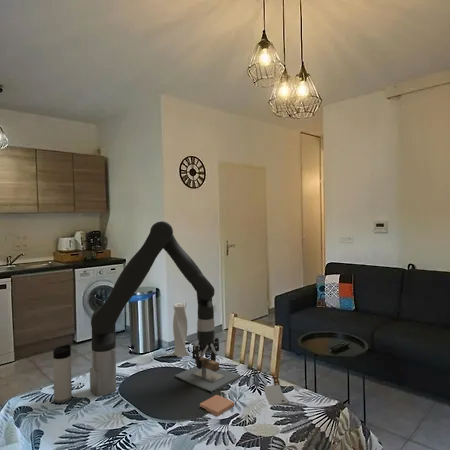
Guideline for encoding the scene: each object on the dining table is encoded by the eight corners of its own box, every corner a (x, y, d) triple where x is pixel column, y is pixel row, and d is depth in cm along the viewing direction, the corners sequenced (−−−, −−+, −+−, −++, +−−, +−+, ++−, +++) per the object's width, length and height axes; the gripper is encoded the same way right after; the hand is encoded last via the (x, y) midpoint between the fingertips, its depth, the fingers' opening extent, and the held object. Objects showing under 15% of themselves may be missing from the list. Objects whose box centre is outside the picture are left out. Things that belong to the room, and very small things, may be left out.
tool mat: (211, 393, 144) (211, 390, 144) (174, 377, 158) (174, 375, 158) (240, 378, 157) (240, 375, 157) (203, 364, 172) (203, 362, 172)
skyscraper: (192, 355, 184) (191, 300, 183) (177, 359, 179) (177, 303, 179) (184, 350, 191) (183, 297, 190) (170, 354, 186) (169, 299, 186)
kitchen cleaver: (259, 375, 159) (282, 374, 158) (259, 377, 159) (282, 376, 158) (262, 404, 134) (289, 403, 134) (262, 407, 134) (290, 406, 134)
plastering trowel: (191, 374, 159) (191, 359, 159) (203, 369, 164) (202, 354, 164) (213, 383, 150) (213, 366, 150) (224, 377, 156) (224, 361, 156)
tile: (199, 408, 133) (217, 417, 127) (199, 403, 133) (217, 412, 127) (216, 399, 140) (234, 407, 134) (216, 394, 140) (234, 402, 134)
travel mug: (76, 396, 142) (75, 345, 142) (62, 404, 136) (61, 351, 136) (64, 393, 145) (63, 343, 144) (50, 401, 139) (49, 349, 138)
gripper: (210, 322, 165) (211, 358, 166) (187, 330, 155) (188, 368, 155) (223, 325, 161) (223, 362, 161) (200, 333, 150) (200, 372, 150)
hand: (206, 365), depth 158 cm, fingers open, 8 cm apart
